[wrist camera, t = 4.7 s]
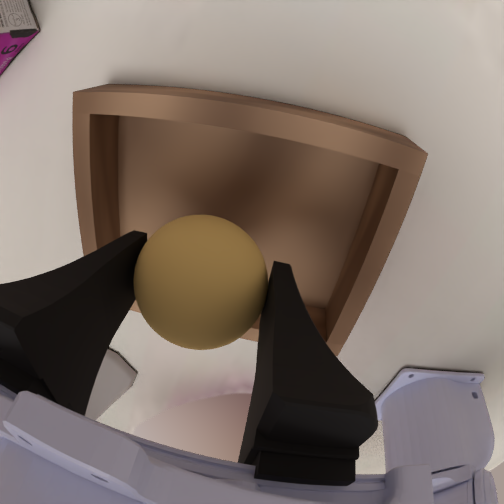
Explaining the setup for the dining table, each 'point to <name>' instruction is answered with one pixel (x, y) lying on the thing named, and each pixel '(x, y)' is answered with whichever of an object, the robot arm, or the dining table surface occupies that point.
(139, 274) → the ball
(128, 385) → the flask
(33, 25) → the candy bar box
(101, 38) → the dining table surface
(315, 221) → the tray
